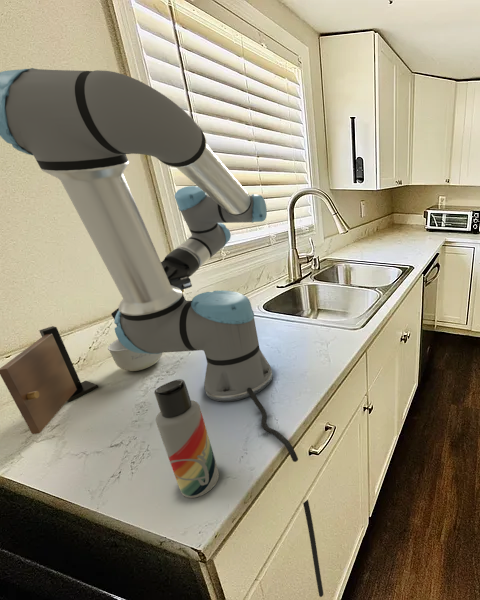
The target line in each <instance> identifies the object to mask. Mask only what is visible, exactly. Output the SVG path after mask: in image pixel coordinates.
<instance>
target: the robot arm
mask: <svg viewBox="0 0 480 600" xmlns="http://www.w3.org/2000/svg"><path fill="white" fill-rule="evenodd" d="M0 138H1V139H3V141H4V142H6V143H7V144H10V145H11V147H12V148H14V149H15V150H17V151H18V152H21V153H24V154H26V155H29V156H33V157H34V159H35V162H36V163H37V165H38V166H39V169H40V170H41V171H42V172H44V173H46V174H48V175H51V176H52V177H55V178H57V179H58V180H59V181H60V183H61V184H62V186H63V188H64V190H65V192H66V194H67V196H68V197H69V200H70V201H71V204H72V205H73V207H74V209H75V211H76V213H77V214H78V217H79V218H80V220H81V222H82V224H83V226H84V227H85V230H86V231H87V233H88V236H89V237H90V239H91V241H92V243H93V244H94V246H95V248H96V250H97V252H98V255H99V256H100V257H101V260H102V262H103V264H104V265H105V267H106V270H107V271H108V273H109V275H110V276H111V279H112V280H113V282H114V284H115V286H116V288H117V291H118V292H119V294H120V295H121V297H122V299H121V301H120V302H119V304H118V307H117V309H115V310H114V311H113V312H112V313H111V314H110V315H111V316H112V318H113V320H114V322H113V323H114V324H115V325H116V326H115V327H114V332H115V335H116V338H117V339H118V340H119V341H120V343H121V344H122V345H123V346H124V347H125V348H127V349H128V350H130V351H132V352H135V353H149V354H160V353H162V354H165V353H181V352H195V351H203V352H204V355H205V359H206V369H205V378H204V382H203V383H204V390H205V395H206V396H207V397H208V398H209V399H210V400H213V401H217V402H235V401H239V400H244V399H247V398H251V400H252V401H253V403H254V404H255V406H256V408H257V409H258V411H259V412H260V414H261V422H260V424H261V428H262V430H263V431H264V432H266V433H268V434H270V435H271V436H274V437H275V438H276V439H277V440H278V441H279V442H281V444H283V446H284V447H285V448H286V450H287V452H288V453H289V454H288V455H289V456H290V458H291V461H292V462H294V463H296V462H298V460H299V458H298V454H297V453H296V450H295V449H294V447H293V445H292V444H291V442H290V441H289V440H288V439H287V438H286V437H285V436H284V435H283V434H282V433H280V432H279V431H277V430H276V429H274V428H271V427H269V426H268V424H267V420H268V419H267V418H268V415H267V411H266V409H265V407H264V406H263V404H262V403H261V402H260V400H259V398H258V397H257V396H256V395H257V394H258V393H259V392H261V391H262V390H265V388H266V387H268V385H269V384H270V383H271V381H272V379H273V370H272V367H271V365H270V363H269V361H268V360H267V358H266V356H265V355H264V354H263V352H262V350H261V348H260V343H259V337H258V331H257V326H256V321H255V312H254V310H253V308H252V304H251V300H250V298H248V296H246V295H245V294H243V293H241V292H238V291H233V290H213V291H204V292H201V293H198V294H196V295H195V296H194V297H193V298H192V299H191V300H186V297H185V296H184V295H185V294H184V293H183V290H186V289H189V288H192V287H193V283H192V281H191V278H190V277H191V276H192V275H193V274H194V273H196V272H197V271H199V269H200V268H202V267H203V266H204V264H205V263H207V262H208V261H209V260H210V259H211V258H213V257H214V255H216V254H217V253H218V252H219V251H220V250H222V249H223V248H224V247H225V246H226V245H227V244H228V243H229V241H230V240H231V235H232V234H231V231H230V229H229V228H228V227H227V226H226V224H238V223H239V224H240V223H243V224H245V223H247V224H248V223H251V224H253V223H261V222H264V221H265V220H266V218H267V213H268V211H267V204H266V201H265V197H263V196H262V195H261V194H254V193H251V194H250V193H249V192H247V190H246V189H245V188H244V187H243V186H242V184H241V183H240V182H239V181H238V179H237V178H236V177H235V176H234V175H233V174H232V172H230V170H229V169H228V168H227V167H226V165H225V164H224V163H223V162H222V160H221V159H220V158H219V156H218V155H216V154H215V153H214V151H213V149H211V147H210V146H209V145H208V144H207V137H206V135H205V133H204V131H203V129H202V128H201V127H200V126H199V124H198V123H197V122H196V121H195V120H194V119H193V117H192V116H191V115H190V114H189V113H188V112H187V111H185V110H184V109H183V108H182V107H181V106H179V105H178V104H176V103H175V101H173V100H172V99H170V98H169V97H167V96H166V95H165V94H163V93H161V92H160V91H158V90H157V89H156V88H154V87H152V86H150V85H148V84H146V83H144V82H142V81H140V80H138V79H136V78H134V77H131V76H128V75H126V74H123V73H119V72H116V71H112V70H111V71H110V70H101V69H99V70H98V69H97V70H74V69H73V70H72V69H71V70H70V69H69V70H68V69H43V68H40V69H39V68H35V67H31V68H22V69H10V70H3V71H0ZM127 155H145V156H149V157H154V158H156V159H157V160H158V161H160V162H161V163H162V164H164V165H166V166H167V167H171V168H176V169H178V171H180V172H181V173H182V174H183V175H184V176H185V177H186V178H188V180H190V181H191V182H192V183H193V184H195V185H188V186H184V187H182V188H179V189H178V190H177V191H176V192H175V193H174V199H175V201H176V204H177V206H178V210H179V211H180V213H181V215H182V217H183V220H184V222H185V223H186V225H187V228H188V230H189V232H190V235H191V236H189V237H188V238H187V239H186V240H184V241H183V242H182V243H181V244H179V245H178V246H177V247H175V248H174V249H173V250H171V252H168V253H167V255H165V257H164V258H163V260H162V261H161V260H160V257H159V254H158V251H157V250H156V247H155V245H154V243H153V240H152V238H151V236H150V234H149V231H148V229H147V227H146V223H145V222H144V219H143V217H142V214H141V212H140V210H139V207H138V205H137V203H136V200H135V198H134V195H133V193H132V191H131V189H130V186H129V184H128V182H127V179H126V177H125V174H124V171H125V170H126V168H127V167H128V166H129V163H130V161H129V159H128V157H127ZM302 504H303V505H302V506H303V509H304V514H305V519H306V524H307V530H308V536H309V543H310V549H311V554H312V561H313V567H314V573H315V579H316V587H317V591H318V597H320V598H322V597H323V596H324V588H323V582H322V576H321V569H320V563H319V562H320V561H319V555H318V548H317V542H316V541H317V540H316V535H315V529H314V523H313V519H312V513H311V508H310V507H311V506H310V502H309V499H306V500H305V501H304V502H303V503H302Z"/></svg>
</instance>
